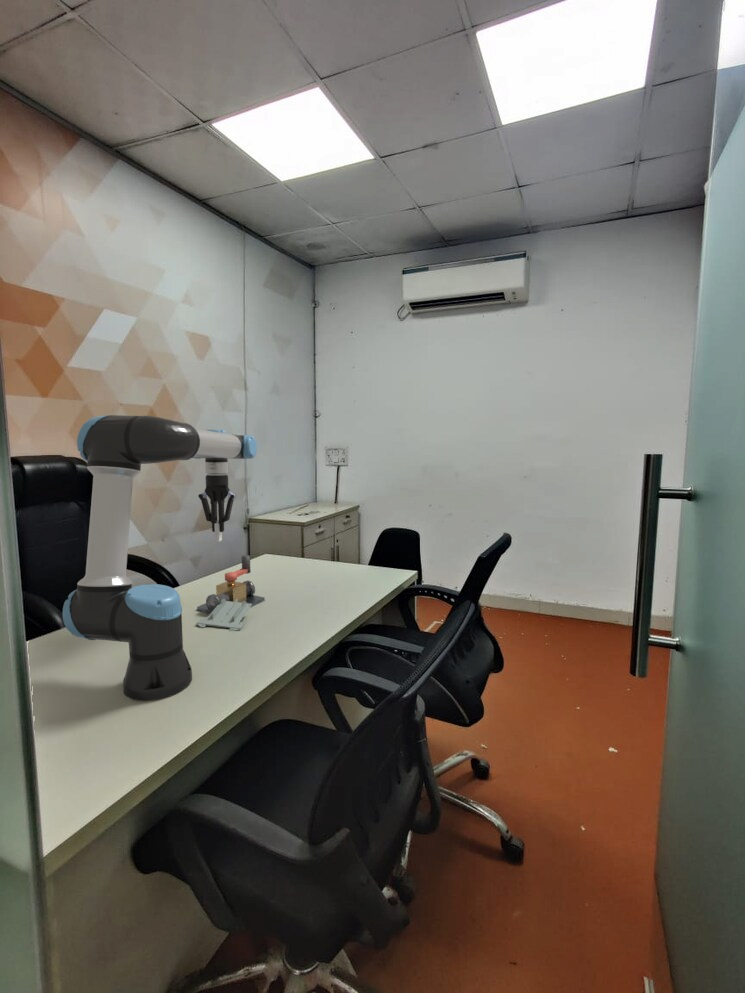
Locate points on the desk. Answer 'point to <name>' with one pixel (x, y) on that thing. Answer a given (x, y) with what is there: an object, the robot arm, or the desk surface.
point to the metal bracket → (226, 615)
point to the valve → (231, 595)
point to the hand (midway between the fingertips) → (218, 540)
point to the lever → (245, 569)
